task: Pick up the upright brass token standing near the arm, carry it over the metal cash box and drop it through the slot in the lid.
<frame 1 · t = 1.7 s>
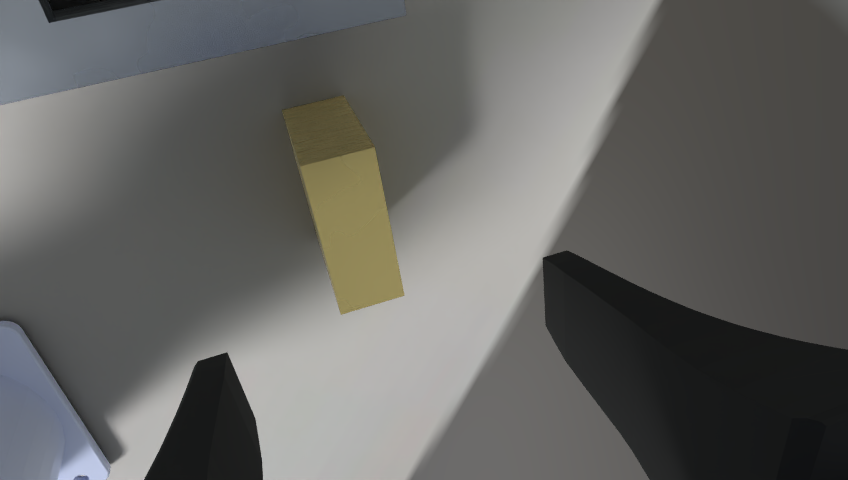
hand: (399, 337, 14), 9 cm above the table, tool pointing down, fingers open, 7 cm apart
token: (330, 171, 21), on the table
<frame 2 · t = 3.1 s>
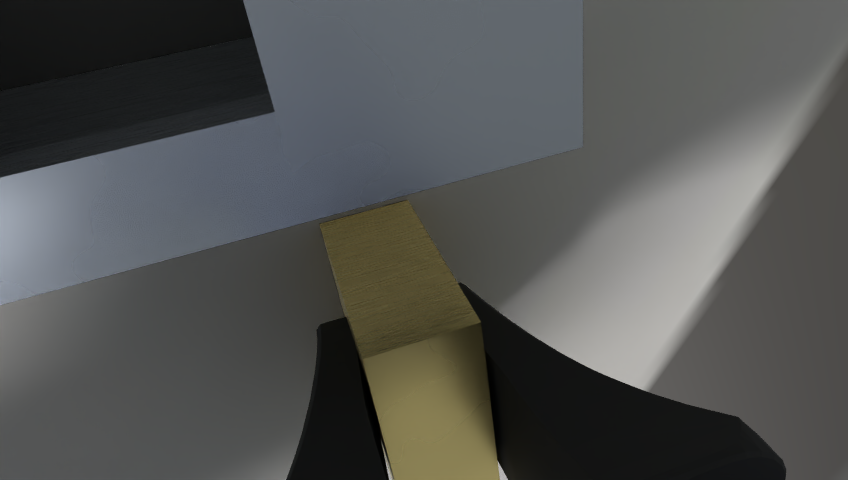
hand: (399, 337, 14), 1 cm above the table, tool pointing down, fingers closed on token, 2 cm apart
token: (383, 300, 15), on the table, touching gripper
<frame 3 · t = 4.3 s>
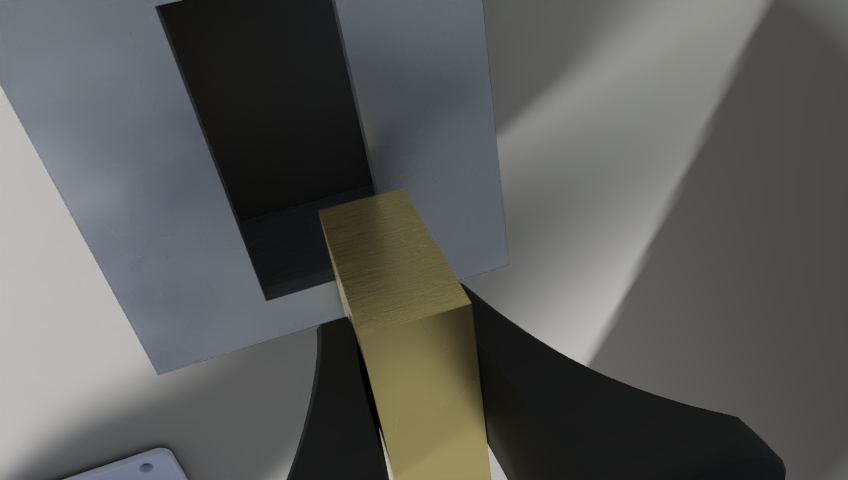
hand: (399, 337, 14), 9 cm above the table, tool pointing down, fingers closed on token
cash box: (270, 81, 20), on the table
token: (379, 285, 16), point 7 cm above the table, touching gripper
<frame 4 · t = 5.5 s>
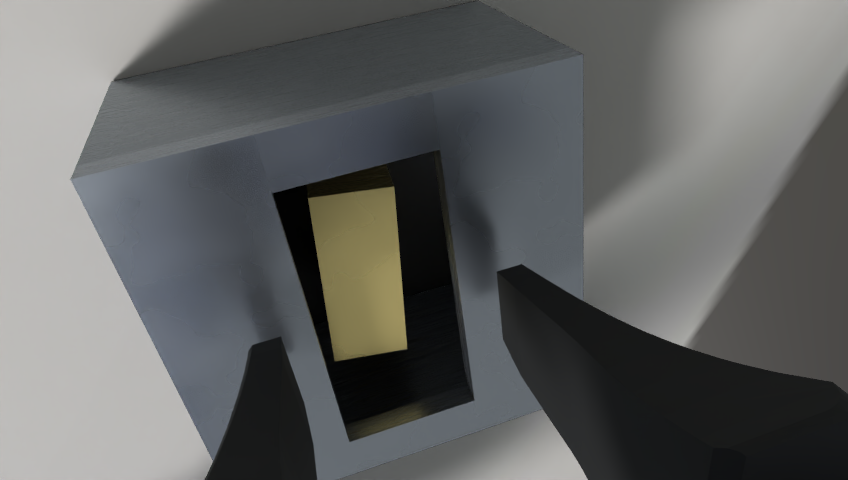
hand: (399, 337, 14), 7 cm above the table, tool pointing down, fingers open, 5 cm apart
cash box: (342, 199, 20), on the table
token: (345, 198, 20), resting in cash box, tilted 5°
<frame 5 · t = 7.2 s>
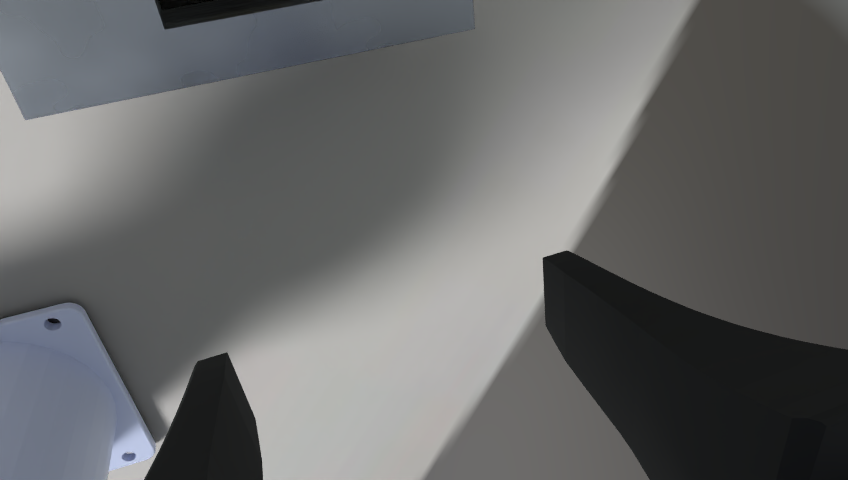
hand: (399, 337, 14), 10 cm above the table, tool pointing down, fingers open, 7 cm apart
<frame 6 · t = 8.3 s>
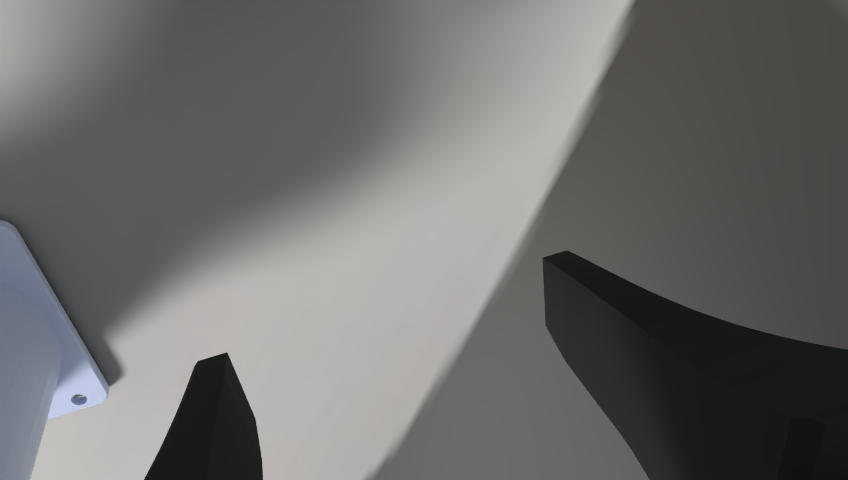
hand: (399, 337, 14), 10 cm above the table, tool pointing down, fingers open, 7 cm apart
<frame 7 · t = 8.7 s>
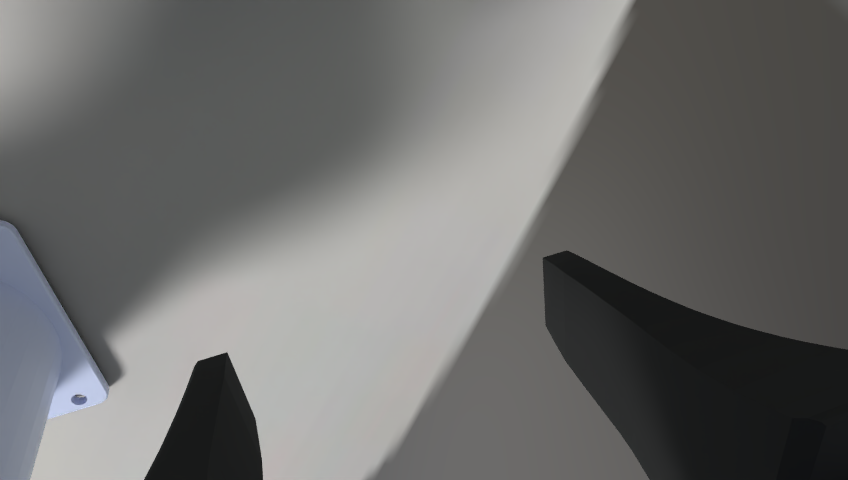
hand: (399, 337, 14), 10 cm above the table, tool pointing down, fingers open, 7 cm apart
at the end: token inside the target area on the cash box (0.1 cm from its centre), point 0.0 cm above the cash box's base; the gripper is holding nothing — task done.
